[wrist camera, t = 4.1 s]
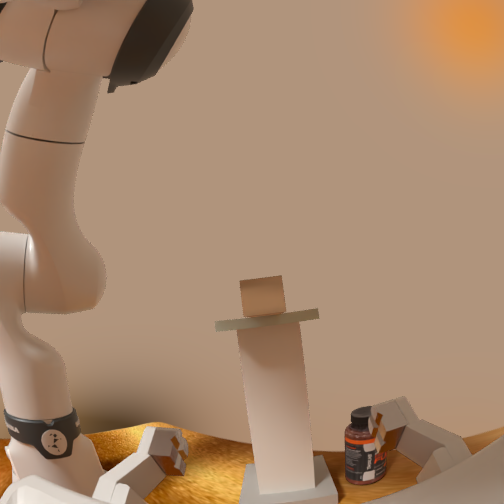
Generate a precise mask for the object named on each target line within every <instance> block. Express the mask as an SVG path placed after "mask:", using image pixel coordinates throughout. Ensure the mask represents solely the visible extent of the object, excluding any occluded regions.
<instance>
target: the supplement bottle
mask: <svg viewBox="0 0 504 504" xmlns="http://www.w3.org/2000/svg"><path fill="white" fill-rule="evenodd" d="M371 407H372V406H367V407H361V408H358V409H356V410H354V411H352V413H351V422H352V423H351V424H350V425H349V426H348V427H347V428H346V429H345V477H346V479H347V480H348V481H349V482H350V483H353V484H357V485H365V484H370V483H373V482H376V481H378V480H379V479H381V478H382V477H383V476H384V474H385V471H386V460H387V452H383V453H380V454H378V452H377V449H376V447H375V444H374V441H375V438H374V437H372V436H371V434H370V432H369V428H368V420H369V417H370V416H371V415H372V414H371Z"/></svg>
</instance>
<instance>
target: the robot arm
mask: <svg viewBox="0 0 504 504" xmlns="http://www.w3.org/2000/svg"><path fill="white" fill-rule="evenodd" d="M192 12H193V3H192V0H0V62H3V61H5V62H9V63H13V64H16V65H20V66H25V67H29V68H30V70H29V72H28V73H27V75H26V77H25V79H24V81H23V83H22V85H21V87H20V89H19V91H18V94H17V96H16V98H15V101H14V103H13V106H12V109H11V112H10V115H9V119H8V122H7V126H6V130H5V134H4V138H3V143H2V148H1V153H0V203H1V204H2V206H3V208H4V209H5V210H6V211H7V212H8V213H9V214H10V215H11V216H13V217H14V218H15V219H17V220H18V221H19V222H20V223H22V224H23V226H24V227H25V228H26V229H27V231H28V232H29V235H28V234H20V233H12V232H3V231H0V388H1V392H2V396H3V401H4V405H5V409H4V415H5V422H6V425H7V427H8V431H9V434H10V435H11V441H10V443H9V446H6V447H5V450H6V454H7V457H8V459H10V461H11V464H12V478H13V483H12V484H11V485H10V486H9V487H8V488H7V490H6V491H5V493H4V494H3V496H2V498H1V499H0V504H148V503H147V502H146V501H145V500H143V499H144V498H145V497H146V496H147V495H148V494H149V493H150V492H151V491H152V490H153V489H154V488H155V487H156V486H157V485H158V484H159V483H160V482H161V481H162V480H163V479H164V478H165V477H166V475H174V476H184V473H185V468H186V464H185V462H184V460H185V459H186V458H187V457H188V444H187V441H186V439H185V438H183V437H182V432H181V430H180V429H174V428H161V427H149V426H147V427H146V428H145V430H144V433H143V435H142V438H141V441H140V444H139V447H138V450H137V453H133V454H131V455H130V456H129V457H127V458H126V459H125V460H123V461H122V462H121V463H119V464H118V465H116V466H115V467H114V468H112V469H111V470H109V471H106V470H104V469H103V468H102V466H101V463H100V461H99V458H98V456H97V453H96V451H95V448H94V445H93V443H92V441H91V440H90V439H88V438H87V437H85V436H84V435H82V434H81V428H80V424H79V418H78V416H77V413H76V410H75V409H74V408H73V407H72V403H71V398H70V393H69V388H68V381H67V376H66V368H65V363H64V361H63V359H62V357H61V355H60V354H59V353H58V351H57V350H56V349H55V348H53V347H52V346H51V345H49V344H48V343H46V342H44V341H43V340H41V339H39V338H37V337H36V336H34V335H32V334H30V333H29V332H28V331H27V330H26V329H25V328H24V326H23V324H22V320H21V315H22V314H23V313H26V312H28V313H46V314H70V313H76V312H81V311H86V310H91V309H93V308H94V307H95V306H96V305H97V304H98V302H99V301H100V300H101V298H102V296H103V293H104V290H105V286H106V269H105V265H104V262H103V259H102V257H101V255H100V253H99V252H98V250H97V249H96V248H95V247H94V246H93V245H92V244H91V243H90V242H89V241H88V240H87V239H86V238H85V236H84V235H83V234H82V232H81V230H80V228H79V226H78V223H77V221H76V217H75V212H74V187H75V181H76V176H77V170H78V166H79V161H80V157H81V154H82V150H83V147H84V143H85V140H86V137H87V133H88V130H89V127H90V123H91V119H92V116H93V113H94V109H95V105H96V101H97V97H98V93H99V89H100V85H101V80H102V77H103V78H108V79H110V83H109V87H108V93H113V92H114V91H115V89H116V87H118V86H124V85H132V84H137V83H139V82H141V81H144V80H146V79H148V78H150V77H153V76H155V75H156V73H157V72H158V70H159V69H161V68H162V67H163V66H165V64H167V63H168V62H169V61H170V60H171V59H172V58H173V57H174V56H175V54H176V53H177V52H178V51H179V49H180V48H181V46H182V45H183V43H184V41H185V39H186V36H187V34H188V30H189V27H190V22H191V14H192ZM371 414H372V415H371V416H370V417H369V420H368V428H369V432H370V434H371V436H372V437H374V438H375V441H374V444H375V447H376V449H377V452H378V454H380V453H383V452H387V451H390V450H393V449H396V450H397V451H399V452H400V453H402V454H403V455H405V456H406V457H408V458H409V459H411V460H412V461H413V462H415V463H416V464H418V465H420V466H421V467H423V468H422V470H421V471H420V473H419V474H418V476H417V477H416V480H417V483H418V484H416V485H413V486H411V487H408V488H406V489H403V490H401V491H398V492H396V493H393V494H390V495H387V496H384V497H381V498H378V499H375V500H372V501H369V502H365V503H362V504H504V435H502V436H501V437H499V438H498V439H497V440H495V441H494V442H492V443H491V444H489V445H488V446H486V447H485V448H483V449H482V450H480V451H479V452H477V453H476V454H474V455H472V454H471V452H470V451H469V449H468V447H467V446H466V444H465V442H464V441H463V439H462V438H461V436H458V435H456V434H454V433H451V432H449V431H446V430H444V429H442V428H440V427H437V426H435V425H433V424H431V423H429V422H427V421H424V420H419V419H418V417H417V415H416V414H415V412H414V410H413V409H412V407H411V405H410V404H409V402H408V401H407V399H406V397H404V396H402V397H399V398H396V399H394V400H389V401H386V402H383V403H380V404H377V405H373V406H372V407H371Z"/></svg>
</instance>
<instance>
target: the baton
mask: <svg viewBox="0 0 504 504" xmlns="http://www.w3.org/2000/svg"><path fill="white" fill-rule="evenodd" d="M240 289H241V298H242V307H243V315H244V317H260V316H268V315H275V314H282V313H284V312H286V305H285V297H284V290H283V283H282V276H273V277H265V278H258V279H250V280H242V281H240Z"/></svg>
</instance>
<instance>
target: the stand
mask: <svg viewBox="0 0 504 504" xmlns="http://www.w3.org/2000/svg"><path fill="white" fill-rule="evenodd" d="M313 319H319V313H318V309H310V310H304V311H297V312H291V313H283V314H275V315H268V316H260V317H252V318H244V319H234V320H224V321H215V329H216V332H217V331H228V330H237V336H238V345H239V352H240V361H241V369H242V376H243V384H244V391H245V399H246V406H247V413H248V420H249V427H250V434H251V441H252V447H253V454H254V460H255V464H246V469H245V474H244V479H243V485H242V490H241V495H240V500H239V504H338V492H337V490H336V487H335V485H334V482H333V480H332V477H331V475H330V472H329V470H328V467H327V465H326V462H325V460H324V457H323V455H319V456H313V450H312V438H311V425H310V414H309V403H308V393H307V384H306V374H305V365H304V357H303V348H302V340H301V332H300V324H299V322H300V321H306V320H313Z"/></svg>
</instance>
